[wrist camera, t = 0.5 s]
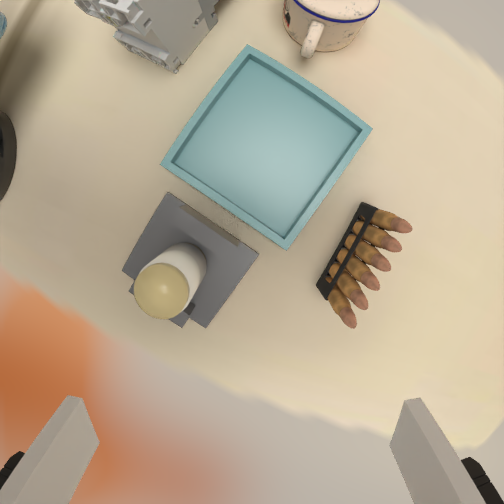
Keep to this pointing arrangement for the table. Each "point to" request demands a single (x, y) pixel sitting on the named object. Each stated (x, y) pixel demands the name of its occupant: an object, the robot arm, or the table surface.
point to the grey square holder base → (212, 245)
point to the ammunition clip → (344, 260)
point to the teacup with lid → (325, 22)
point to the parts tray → (266, 145)
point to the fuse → (170, 280)
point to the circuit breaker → (156, 26)
